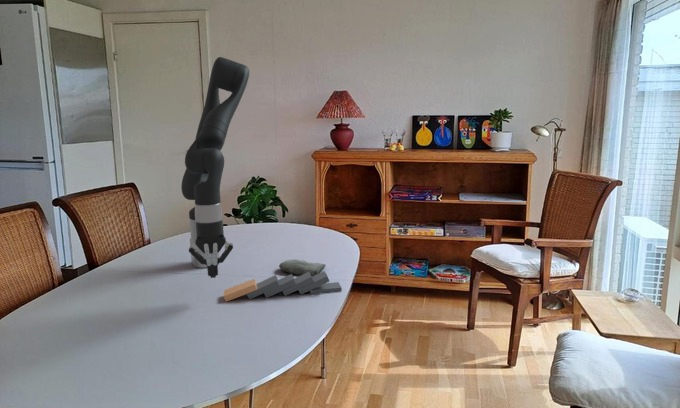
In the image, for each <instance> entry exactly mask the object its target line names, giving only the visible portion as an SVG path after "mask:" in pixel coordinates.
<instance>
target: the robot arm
mask: <svg viewBox="0 0 680 408" xmlns="http://www.w3.org/2000/svg"><path fill="white" fill-rule="evenodd" d="M210 71H211V73H210V76H209V82H208V87H207V92H206V98H205V103H204V105H203V108H202V109H203V110H202V113H201V117H200V120H199V123H198V126H197V130H196V131H197V132H196V134H195V139H194V141H193V142H192V143H191V145H190V146H189V148H188V149H187V151H186V154H185V156H184V165H185V168H186V169H185V171H184V173H183V176H182V181H181V192H182V196H183V197H184V198H185V199H186V200H189V201H194V207H192V208H191V209H190V210H189V212H188V216H189V217H188V218H189V219H188V220H189V228H190V230H189V231H190V232H189V233H190V238H189V244H190V246H189V248H188V252H189V254H190V256H191V259H190V260H191V264H192V265H193V267H195V268H200V269H201V268H204V269H206V268H207V276H208V277H210V279H213V278H214V279H215V278H216V277H217V276H218V275H219V270H218V269H219V268H218V267H219V266H218V265H219V264H222V263H224V262H225V260H226V259H227V257H228V256H229V254H230V253H231V252H232V250H233V249H234V244H233V243H231V242H228V241H227V240H226V237H225V234H224V233H225V232H224V221H223V220H224V219H223V218H224V217H223V216H224V214H223V209H222V203H221V191H220V190H221V184H222V177H223V171H224V167H225V156H224V154H223V153H222V151H221V150H222V149H223V147H224V145H225V142H226V138H227V134H228V130H229V128H230V124H231V122H232V118H233V117H234V115H235V112H236V111H237V108H238V106H239V104H240V102H241V99H242V97H243V95H244V93H245V90H246V88H247V85H248V81H249V77H250V68H249V67H248V66H247V65H245V64H243V63H240V62H237V61H234V60H231V59H229V58H226V57H223V56H219V57H217V58H215V60H214V62H213V64H212V68H211V70H210ZM219 90H224V91H226V92H230V93H231V94H230V95H229V96H228V97H227V99H225V100H224V101H222V102H220V93H219V92H220V91H219ZM223 247H224V250H223V252H222V253H221V255H220V252H221V250H222V248H223Z"/></svg>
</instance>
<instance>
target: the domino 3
mask: <svg viewBox="0 0 680 408" xmlns="http://www.w3.org/2000/svg"><path fill="white" fill-rule="evenodd" d="M294 279H295V277H294V276H293V274H291V273H289V274H288V275H286V276H284V277H282V278H279V279H278V282H279V286H278V287H275V288H273V289H271V290H269V291H267V292H265V293H263V294H264V296H265V298H266V299H268V298H269V297H272V296H274V295H276V294H278V293H280V292H283V290H285V289H287V288H289V287H291V286H293V285H296V283H295V280H294Z"/></svg>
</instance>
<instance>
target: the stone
mask: <svg viewBox="0 0 680 408" xmlns="http://www.w3.org/2000/svg"><path fill="white" fill-rule="evenodd" d="M278 267H279V269H280V270H282V271H283V272H286V273H288V274H292V275H295V276H296V275H299V276H301V275H303V274H305V273H307V272H310V274H311V276H315V275H317V274H319V273H321V272H323V270H324V269H325V267H326V264H324V263H318V262H317V263H316V262H308V261H306V260H300V259H287V260H285V261H283V262H281V263H279V265H278Z"/></svg>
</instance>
